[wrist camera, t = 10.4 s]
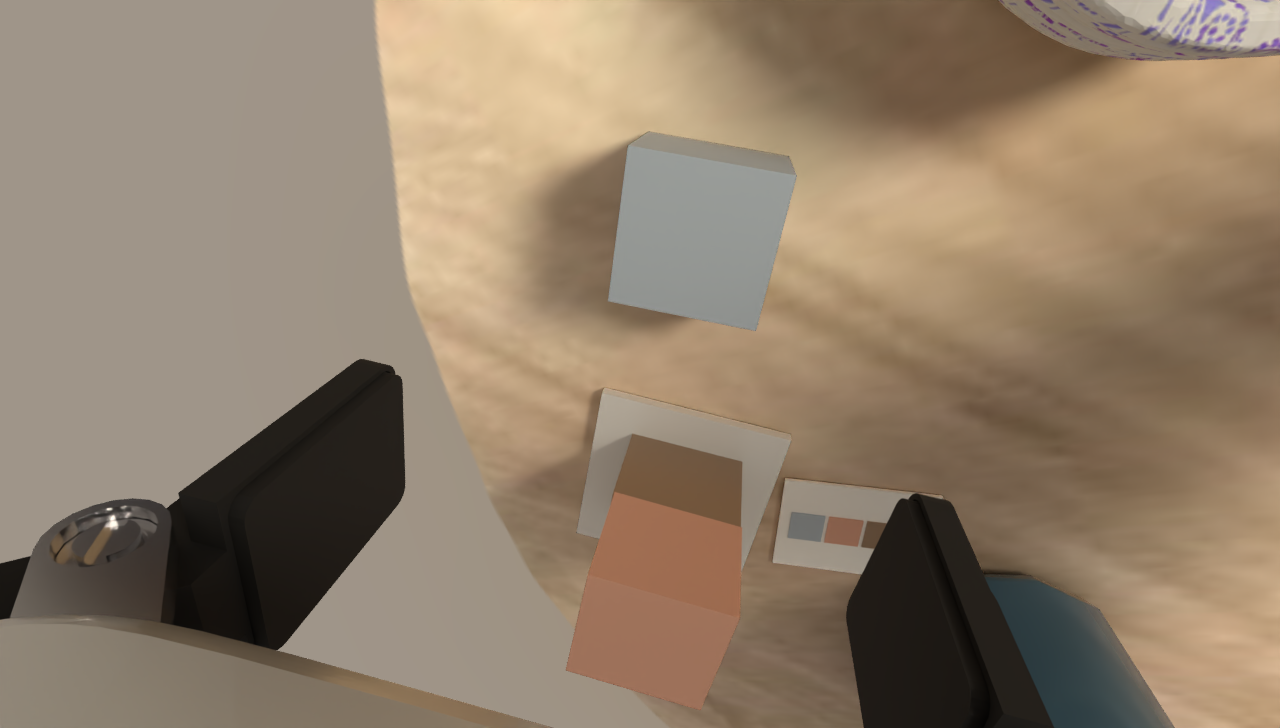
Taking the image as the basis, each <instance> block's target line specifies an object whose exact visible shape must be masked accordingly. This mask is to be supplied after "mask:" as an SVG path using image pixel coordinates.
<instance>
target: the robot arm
mask: <svg viewBox="0 0 1280 728" xmlns="http://www.w3.org/2000/svg"><path fill="white" fill-rule="evenodd" d="M404 489H405V459H404V423H403V388H402V379H401V377H400V376H398V375H395V371H394V369H393V367H391V366H390V365H386V364H381V363H377V362H373V361H369V360H365V359H359V360H357V361H356V362H354V363H353V364H351V365H350V366H349V367H347V368H346V369H345V370H343V371H342V372H341V373H339V374H338V375H337V376H335V377H334V378H333V379H331V380H330V381H329V382H327V383H326V384H324V385H323V386H322V387H320V388H319V389H318V390H316V391H315V392H314V393H312V394H311V395H310V396H308V397H307V398H306V399H304V400H303V401H302V402H300V403H299V404H298V405H296V406H295V407H294V408H292V409H291V410H289V411H288V412H287V413H285V414H284V415H283V416H281V417H280V418H279V419H277V420H276V421H275V422H273V423H272V424H271V425H269V426H268V427H267V428H265V429H264V430H263V431H261V432H260V433H259V434H257V435H256V436H254V437H253V438H252V439H250V440H249V441H248V442H246V443H245V444H244V445H242V446H241V447H240V448H238V449H237V450H236V451H234V452H233V453H232V454H230V455H229V456H228V457H226V458H225V459H224V460H222V461H221V462H219V463H218V464H217V465H216V466H214V467H213V468H211V469H210V470H209V471H207V472H206V473H205V474H203V475H202V476H201V477H199V478H198V479H197V480H195V481H194V482H193V483H191V484H190V485H189V486H187V487H186V488H184V489H183V490H182V491H180V492H179V499H178V500H177V501H175V502H174V503H173V504H171V505H170V506H169V507H168V508H165V507H164V506H163V505H162V504H160V503H157V502H154V501H151V500H145V499H133V498H132V499H123V500H113V501H109V502H105V503H101V504H97V505H93V506H91V507H88V508H86V509H83V510H81V511H78V512H76V513H73V514H71V515H70V516H68V517H66V518H65V519H63V520H61V521H60V522H58V523H56V524H55V525H53V526H52V527H51V528H50V529H49V530H48V531H47V532H46V533H44V534H43V535H42V536H41V537H40V539H39V541H38V543H37V544H36V546H35V548H34V549H33V552H32V555H31V556H30V557H25V558H21V559H17V560H13V561H9V562H5V563H1V564H0V728H552V727H549V726H545V725H541V724H538V723H534V722H531V721H527V720H523V719H520V718H517V717H513V716H510V715H506V714H503V713H499V712H496V711H492V710H488V709H485V708H482V707H478V706H475V705H471V704H467V703H464V702H460V701H457V700H453V699H450V698H446V697H443V696H439V695H435V694H432V693H429V692H425V691H421V690H418V689H414V688H411V687H407V686H403V685H400V684H396V683H392V682H389V681H385V680H381V679H378V678H375V677H371V676H368V675H364V674H360V673H357V672H353V671H350V670H346V669H342V668H339V667H335V666H331V665H328V664H325V663H321V662H317V661H314V660H310V659H307V658H302V657H299V656H296V655H292V654H288V653H284V652H280V651H276V650H278V649H279V648H281V647H282V646H283V645H284V644H285V643H286V642H287V641H288V639H289V638H290V637H291V636H292V634H293V633H294V632H295V631H296V629H297V628H298V627H299V626H300V625H301V623H302V622H303V621H304V620H305V618H306V617H307V616H308V615H309V614H310V612H311V611H312V610H313V608H314V607H315V606H316V605H317V604H318V602H319V601H320V600H321V599H322V597H323V596H324V595H325V594H326V593H327V591H328V590H329V589H330V588H331V586H332V585H333V584H334V583H335V581H336V580H337V579H338V578H339V577H340V575H341V574H342V573H343V572H344V570H345V569H346V568H347V567H348V565H349V564H350V563H351V562H352V561H353V559H354V558H355V557H356V556H357V554H358V553H359V552H360V551H361V550H362V548H363V547H364V546H365V545H366V543H367V542H368V541H369V540H370V538H371V537H372V536H373V535H374V533H375V532H376V531H377V530H378V529H379V527H380V526H381V525H382V524H383V522H384V521H385V520H386V519H387V518H388V516H389V515H390V514H391V513H392V511H393V510H394V509H395V508H396V506H397V505H398V504H399V502H400V501H401V498H402V496H403V494H404ZM846 618H847V626H848V633H849V639H850V645H851V651H852V657H853V663H854V669H855V676H856V682H857V688H858V694H859V700H860V706H861V713H862V719H863V725H864V728H1054V726H1053V724H1052V721H1051V719H1050V717H1049V715H1048V713H1047V710H1046V708H1045V706H1044V704H1043V701H1042V699H1041V697H1040V695H1039V693H1038V690H1037V688H1036V686H1035V684H1034V681H1033V679H1032V677H1031V675H1030V673H1029V670H1028V668H1027V666H1026V664H1025V661H1024V659H1023V657H1022V655H1021V652H1020V650H1019V648H1018V646H1017V644H1016V641H1015V639H1014V637H1013V635H1012V632H1011V630H1010V628H1009V626H1008V624H1007V621H1006V619H1005V617H1004V615H1003V612H1002V610H1001V608H1000V606H999V603H998V601H997V599H996V598H995V596H994V595H993V593H992V592H991V590H990V588H989V586H988V583H987V581H986V579H985V577H984V574H983V572H982V570H981V568H980V565H979V563H978V561H977V559H976V556H975V554H974V552H973V550H972V547H971V545H970V543H969V541H968V538H967V536H966V534H965V532H964V529H963V527H962V525H961V523H960V520H959V518H958V516H957V514H956V511H955V509H954V507H953V505H952V504H951V502H949V501H947V500H943V499H939V498H935V497H931V496H927V495H923V494H919V493H914V494H912V495H911V496H910V497H909V499H904V498H902V499H900V500H899V501H898V502H897V504H896V506H895V508H894V510H893V512H892V514H891V516H890V518H889V520H888V522H887V524H886V526H885V528H884V530H883V532H882V534H881V536H880V538H879V540H878V542H877V545H876V547H875V549H874V551H873V553H872V555H871V557H870V559H869V561H868V563H867V565H866V567H865V569H864V571H863V573H862V575H861V577H860V579H859V581H858V583H857V585H856V587H855V589H854V591H853V593H852V595H851V597H850V600H849V602H848V606H847V615H846Z"/></svg>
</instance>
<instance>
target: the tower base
mask: <svg viewBox="0 0 1280 728" xmlns="http://www.w3.org/2000/svg"><path fill="white" fill-rule="evenodd" d="M790 443H791V434H788V433H784V432H780V431H776V430H772V429H768V428H764V427H760V426H756V425H752V424H748V423H744V422H740V421H736V420H732V419H728V418H724V417H720V416H716V415H712V414H708V413H704V412H700V411H696V410H693V409H689V408H685V407H681V406H677V405H673V404H669V403H665V402H661V401H657V400H653V399H649V398H645V397H641V396H637V395H633V394H629V393H625V392H621V391H617V390H613V389H609V388H605V387H604V390H603V392H602V396H601V401H600V407H599V412H598V418H597V423H596V428H595V434H594V439H593V445H592V450H591V456H590V461H589V467H588V472H587V478H586V483H585V489H584V494H583V499H582V505H581V510H580V516H579V521H578V527H577V532H576V533H579V534H582V535H586V536H590V537H594V538H597V539H600V536H601V533H602V529H603V526H604V523H605V520H606V517H607V514H608V511H609V508H610V505H611V502H612V499H613V495H614V492H617V493H621V494H624V495H628V496H631V497H635V498H639V499H642V500H646V501H649V502H653V503H657V504H660V505H664V506H667V507H671V508H674V509H678V510H682V511H685V512H689V513H692V514H696V515H700V516H703V517H707V518H710V519H714V520H717V521H721V522H725V523H728V524H732V525H735V526H739V527H742V557H741V572H742V569H743V567H744V564H745V561H746V559H747V556H748V554H749V551H750V548H751V546H752V543H753V540H754V538H755V535H756V533H757V530H758V527H759V525H760V522H761V519H762V517H763V514H764V512H765V509H766V506H767V504H768V501H769V498H770V496H771V493H772V490H773V488H774V485H775V483H776V480H777V477H778V475H779V472H780V469H781V467H782V464H783V462H784V459H785V456H786V454H787V451H788V448H789V446H790Z"/></svg>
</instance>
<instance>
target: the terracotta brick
mask: <svg viewBox="0 0 1280 728" xmlns="http://www.w3.org/2000/svg"><path fill="white" fill-rule="evenodd" d="M741 557H742V527H739V526H735V525H732V524H728V523H725V522H721V521H717V520H714V519H710V518H707V517H703V516H700V515H696V514H692V513H689V512H685V511H682V510H678V509H674V508H671V507H667V506H664V505H660V504H657V503H653V502H649V501H646V500H642V499H639V498H635V497H631V496H628V495H624V494H621V493H617V492H614V495H613V499H612V502H611V505H610V508H609V511H608V514H607V517H606V520H605V523H604V526H603V529H602V533H601V536H600V539H599V542H598V545H597V548H596V551H595V554H594V557H593V560H592V563H591V567H590V570H589V573H588V576H587V581H586V585H585V589H584V594H583V598H582V602H581V606H580V611H579V615H578V619H577V624H576V628H575V632H574V637H573V641H572V645H571V649H570V654H569V658H568V662H567V667H566V671H570V672H573V673H577V674H580V675H583V676H586V677H590V678H593V679H597V680H600V681H603V682H607V683H610V684H613V685H617V686H620V687H624V688H627V689H630V690H634V691H637V692H640V693H644V694H647V695H650V696H654V697H657V698H660V699H664V700H667V701H671V702H674V703H677V704H681V705H684V706H687V707H691V708H694V709H697V710H701V708H702V706H703V703H704V701H705V699H706V696H707V694H708V692H709V689H710V687H711V685H712V682H713V680H714V678H715V675H716V673H717V671H718V668H719V666H720V664H721V661H722V659H723V657H724V655H725V652H726V650H727V648H728V645H729V643H730V641H731V638H732V636H733V634H734V631H735V629H736V627H737V624H738V622H739V620H740V601H741Z"/></svg>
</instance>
